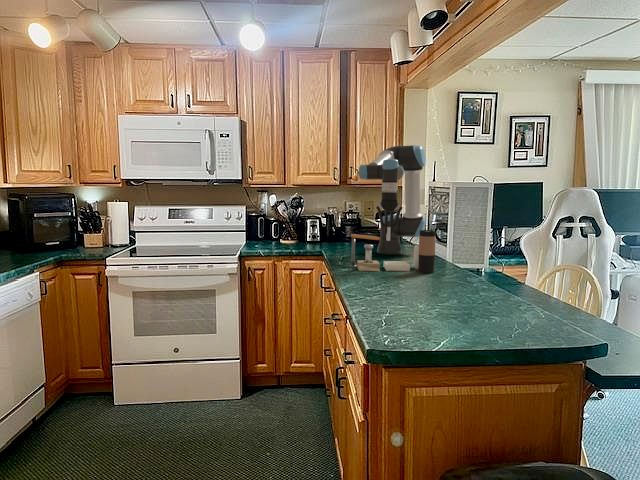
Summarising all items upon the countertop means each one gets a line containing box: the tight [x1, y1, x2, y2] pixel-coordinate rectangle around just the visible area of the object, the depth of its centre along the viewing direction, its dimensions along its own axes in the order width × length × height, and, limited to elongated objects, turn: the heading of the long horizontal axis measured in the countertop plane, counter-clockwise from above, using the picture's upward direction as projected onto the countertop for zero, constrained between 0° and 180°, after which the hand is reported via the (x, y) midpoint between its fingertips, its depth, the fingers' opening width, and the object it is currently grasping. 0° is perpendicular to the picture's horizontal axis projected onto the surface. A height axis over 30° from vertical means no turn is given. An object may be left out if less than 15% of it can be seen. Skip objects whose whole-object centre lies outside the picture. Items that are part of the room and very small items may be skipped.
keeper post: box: [348, 237, 357, 268], centre depth 240 cm, size 4×4×15 cm
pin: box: [363, 243, 374, 263], centre depth 233 cm, size 4×4×12 cm
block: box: [356, 259, 381, 272], centre depth 234 cm, size 10×10×4 cm
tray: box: [382, 260, 411, 272], centre depth 235 cm, size 11×11×3 cm
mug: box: [413, 244, 419, 270], centre depth 238 cm, size 12×9×11 cm
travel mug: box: [417, 229, 437, 275], centre depth 226 cm, size 8×8×20 cm
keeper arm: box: [350, 233, 380, 241], centre depth 234 cm, size 17×3×1 cm, turn 45°
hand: (388, 240), depth 231 cm, fingers closed
